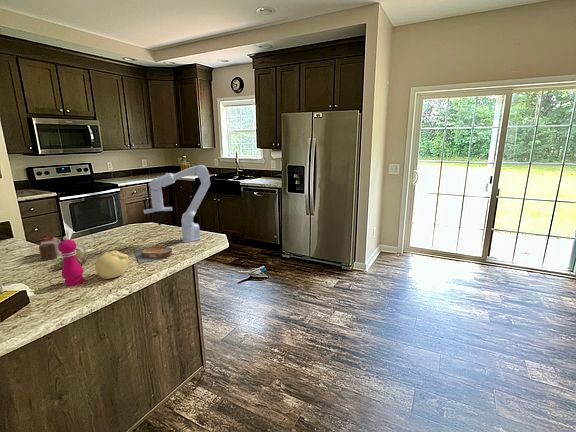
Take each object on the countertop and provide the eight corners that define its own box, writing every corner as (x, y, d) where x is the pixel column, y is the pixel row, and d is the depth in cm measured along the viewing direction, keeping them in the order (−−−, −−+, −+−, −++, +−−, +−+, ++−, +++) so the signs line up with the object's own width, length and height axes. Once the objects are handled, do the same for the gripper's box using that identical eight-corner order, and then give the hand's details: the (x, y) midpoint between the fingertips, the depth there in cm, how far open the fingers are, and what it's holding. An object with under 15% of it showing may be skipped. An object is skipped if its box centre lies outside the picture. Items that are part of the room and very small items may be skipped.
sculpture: (135, 271, 134) (131, 248, 132) (111, 283, 123) (107, 258, 121) (115, 268, 138) (111, 245, 135) (91, 279, 127) (86, 255, 124)
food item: (44, 253, 157) (39, 235, 155) (62, 250, 162) (59, 232, 159) (40, 261, 146) (35, 242, 144) (60, 258, 150) (56, 239, 148)
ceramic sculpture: (88, 239, 150) (82, 251, 137) (92, 255, 153) (85, 268, 139) (63, 242, 146) (53, 255, 133) (67, 259, 149) (58, 273, 136)
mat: (155, 246, 165) (155, 246, 165) (162, 258, 148) (162, 258, 148) (134, 250, 159) (134, 250, 159) (138, 263, 143) (138, 262, 143)
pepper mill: (70, 279, 128) (61, 233, 123) (88, 278, 128) (80, 233, 123) (59, 287, 121) (49, 239, 116) (78, 286, 121) (69, 238, 116)
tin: (174, 247, 155) (166, 252, 147) (175, 253, 156) (167, 258, 147) (146, 246, 156) (137, 251, 148) (147, 252, 157) (137, 257, 149)
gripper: (169, 198, 173) (171, 221, 176) (141, 200, 165) (144, 224, 169) (172, 200, 167) (174, 224, 170) (143, 203, 160) (146, 227, 163)
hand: (159, 224), depth 169 cm, fingers closed
